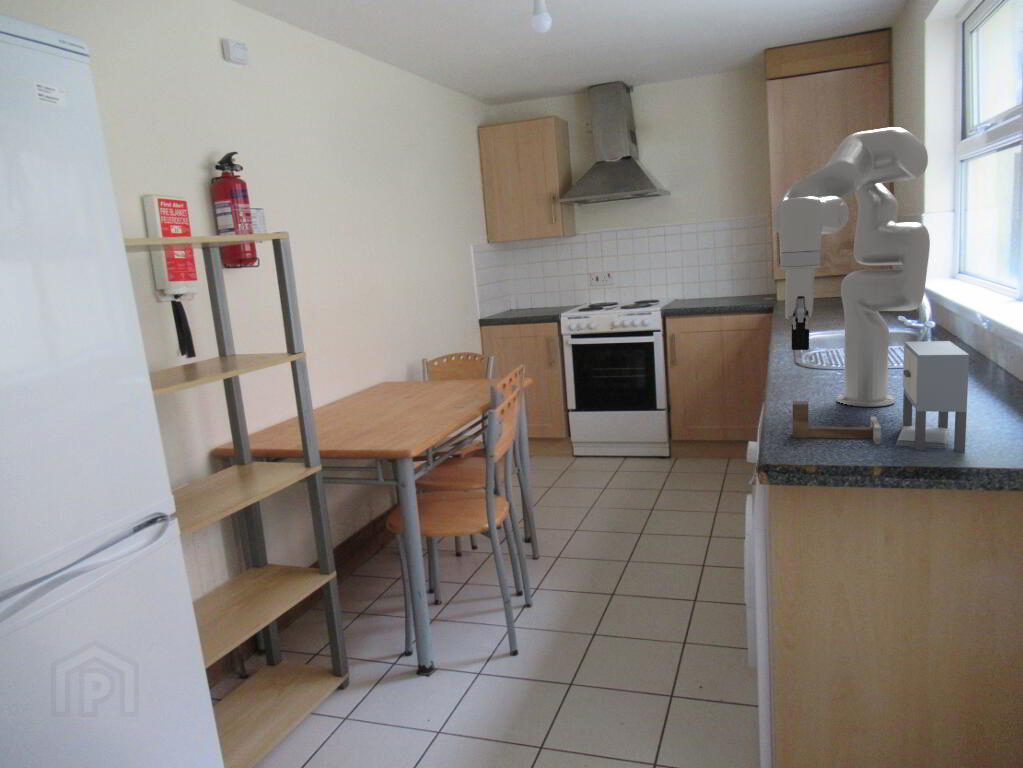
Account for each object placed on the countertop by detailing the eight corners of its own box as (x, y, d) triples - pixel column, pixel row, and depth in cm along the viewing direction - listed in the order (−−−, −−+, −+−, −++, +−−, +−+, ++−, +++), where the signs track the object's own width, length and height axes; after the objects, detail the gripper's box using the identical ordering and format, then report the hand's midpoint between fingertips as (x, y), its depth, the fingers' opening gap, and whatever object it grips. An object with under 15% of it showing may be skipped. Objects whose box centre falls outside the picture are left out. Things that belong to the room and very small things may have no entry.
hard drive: (945, 443, 139) (948, 427, 150) (896, 439, 144) (902, 424, 154) (945, 451, 140) (948, 435, 150) (896, 448, 144) (902, 432, 154)
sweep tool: (792, 429, 160) (792, 397, 159) (875, 431, 154) (876, 398, 153) (792, 441, 151) (792, 408, 150) (880, 444, 145) (881, 409, 144)
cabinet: (897, 427, 156) (899, 341, 153) (946, 428, 153) (949, 341, 150) (909, 450, 140) (912, 355, 137) (964, 451, 137) (969, 354, 134)
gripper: (781, 261, 158) (780, 341, 161) (779, 263, 142) (779, 352, 145) (819, 259, 155) (818, 341, 158) (822, 261, 139) (821, 352, 142)
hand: (800, 346), depth 151 cm, fingers open, 9 cm apart
